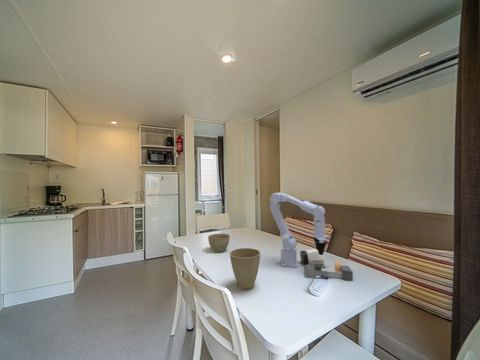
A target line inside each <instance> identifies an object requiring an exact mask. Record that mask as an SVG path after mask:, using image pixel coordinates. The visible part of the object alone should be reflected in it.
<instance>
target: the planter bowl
mask: <svg viewBox="0 0 480 360" xmlns="http://www.w3.org/2000/svg"><path fill="white" fill-rule="evenodd" d="M230 237H231V236H230V235H229V234H227V233H212V234H209V235H208V236H207V238H208V239H207V241H208V244H209V246H210V248H211V249H212V252H213V251H215V252H214V253H223V252H222V251H224V252H225V251H226V250H227V248H228V246H229V243H230Z"/></svg>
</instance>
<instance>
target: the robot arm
mask: <svg viewBox="0 0 480 360" xmlns="http://www.w3.org/2000/svg"><path fill="white" fill-rule="evenodd" d="M269 201H270V205H269V209H270V212H271V214H272V217H273V219H274V222H275V223H276V226H277V228H278V230H279V232H280V235H281V241H282V247H283V248H281V249H280V266H281V267H291V268H292V267H293V268H299V267H298V261H297V260H298V259H297V248H296V246H297V245H298V240H297V239H296V238H295V236H294V235H293V233H292V232H291V231H290V229H289V228H288V225H287V223H286V220H285V219H284V216H283V214H282V211H281V210H280V207H281V205H282V203H284V202H286V203H287V202H288V203H290V204H293V205H295V206H298V207H299V208H300V209H301V210H302V211H304V212H305V213H309V214H310V215H312V216H313V237H312V238H313V240H314V243H315V247H316V248H315V249H317V250H318V253H319V255H324V252H325V248H326V246H327V242H325V239H327V238H328V236H327V235H326V232H325V231H326V230H325V229H326V227H325V226H326V224H325V223H326V221H325V220H326V219H325V214H326V209H325V208H324V207H323V206H322V205H318V204H314V203H312V202H311V201H310V200H303V201H302V200H300V199H299V198H296V197H293V196H292V195H289V194H287V193H285V192H284V193H283V192H282V191H280V192H274V193H272V194H271V195H270V197H269Z"/></svg>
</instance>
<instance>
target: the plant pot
mask: <svg viewBox="0 0 480 360" xmlns="http://www.w3.org/2000/svg"><path fill="white" fill-rule="evenodd" d="M229 258H230V264H231V268H232V272H233V275H234V278H235V281H236V283H237V286H238V288H239V289H241V290H251V289H252V288H254V286H255V283H256V280H257V275H258V273H259V268H260V262H261V261H260V260H261V251H260V250H259V249H256V248H252V247H251V248H250V247H242V248H235V249H233V250H231V251H230V252H229Z"/></svg>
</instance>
